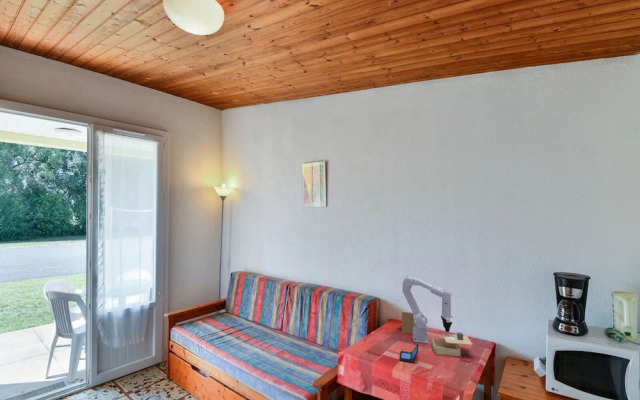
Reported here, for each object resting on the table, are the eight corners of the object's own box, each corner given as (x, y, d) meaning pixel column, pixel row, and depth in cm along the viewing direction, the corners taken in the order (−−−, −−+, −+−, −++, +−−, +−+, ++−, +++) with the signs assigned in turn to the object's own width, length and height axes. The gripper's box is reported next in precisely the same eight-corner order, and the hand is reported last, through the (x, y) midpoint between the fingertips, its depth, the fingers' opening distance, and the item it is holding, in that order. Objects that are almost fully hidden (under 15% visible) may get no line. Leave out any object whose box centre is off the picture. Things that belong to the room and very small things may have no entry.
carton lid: (446, 342, 196) (446, 336, 196) (442, 334, 210) (442, 328, 210) (472, 345, 193) (472, 338, 193) (466, 336, 206) (466, 330, 207)
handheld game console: (400, 352, 200) (400, 340, 200) (418, 355, 197) (418, 343, 197) (399, 361, 188) (399, 349, 188) (418, 364, 185) (418, 351, 185)
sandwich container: (416, 327, 243) (416, 307, 243) (413, 334, 229) (413, 313, 229) (404, 325, 246) (404, 305, 247) (401, 332, 232) (401, 311, 233)
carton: (435, 354, 197) (435, 347, 197) (431, 345, 211) (431, 338, 211) (460, 357, 194) (460, 349, 194) (455, 347, 208) (456, 340, 208)
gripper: (454, 313, 203) (454, 334, 203) (450, 306, 217) (450, 326, 217) (443, 312, 205) (443, 333, 204) (439, 305, 219) (439, 325, 218)
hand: (446, 329), depth 211 cm, fingers open, 7 cm apart
